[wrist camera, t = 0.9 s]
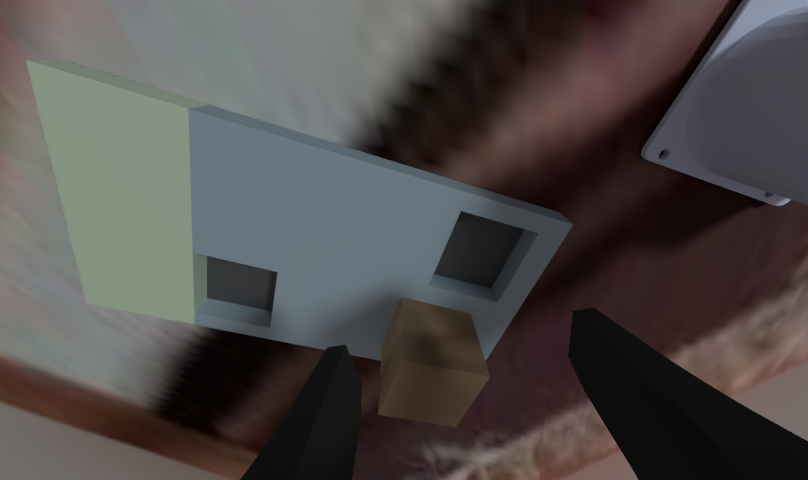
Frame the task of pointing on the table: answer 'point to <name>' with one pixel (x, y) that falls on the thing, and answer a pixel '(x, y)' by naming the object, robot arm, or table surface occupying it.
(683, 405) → the robot arm
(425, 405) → the walnut block
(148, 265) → the board
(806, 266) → the table surface
